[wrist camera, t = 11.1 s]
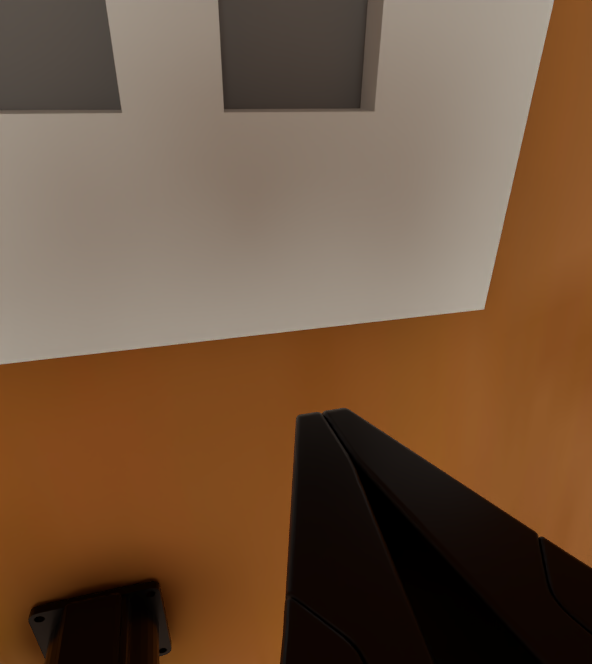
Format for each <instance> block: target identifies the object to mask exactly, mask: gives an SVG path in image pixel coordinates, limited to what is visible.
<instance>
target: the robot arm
mask: <svg viewBox="0 0 592 664" xmlns="http://www.w3.org/2000/svg"><path fill="white" fill-rule="evenodd" d="M29 624H30V626H31V628H32V630H33V633H34V635H35V637H36V639H37V642H38V644H39V646H40V649H41V651H42V653H43V655H44V658H45V664H159V656H163V655H166V654H168V653H169V652H170V651H171V639H170V634H169V629H168V624H167V619H166V614H165V609H164V604H163V599H162V593H161V588H160V585H159V583H157V582H154V581H151V582H146V583H141V584H136V585H132V586H127V587H123V588H118V589H114V590H109V591H105V592H100V593H96V594H91V595H87V596H82V597H78V598H73V599H69V600H64V601H60V602H55V603H50V604H46V605H41V606H37V607H35V608H33V609H32V610H31V612H30V615H29ZM280 664H592V568H591V567H589V566H588V565H586V564H585V563H583V562H581V561H580V560H578V559H577V558H575V557H573V556H572V555H570V554H569V553H567V552H566V551H564V550H563V549H561V548H560V547H558V546H557V545H555V544H553V543H552V542H550V541H549V540H547V539H546V538H544V537H539V538H538V534H537V533H536V532H535V531H533V530H532V529H530V528H529V527H527V526H526V525H524V524H523V523H521V522H520V521H518V520H517V519H515V518H513V517H512V516H510V515H509V514H507V513H506V512H504V511H503V510H501V509H500V508H498V507H497V506H495V505H494V504H492V503H491V502H489V501H488V500H486V499H484V498H483V497H481V496H480V495H478V494H477V493H475V492H474V491H472V490H471V489H469V488H468V487H466V486H465V485H463V484H462V483H460V482H459V481H457V480H456V479H454V478H452V477H451V476H449V475H448V474H446V473H445V472H443V471H442V470H440V469H439V468H437V467H436V466H434V465H433V464H431V463H430V462H428V461H427V460H425V459H423V458H422V457H420V456H419V455H417V454H416V453H414V452H413V451H411V450H410V449H408V448H407V447H405V446H404V445H402V444H401V443H399V442H398V441H396V440H395V439H393V438H391V437H390V436H388V435H387V434H385V433H384V432H382V431H381V430H379V429H378V428H376V427H375V426H373V425H372V424H370V423H369V422H367V421H366V420H364V419H362V418H361V417H359V416H358V415H356V414H355V413H353V412H352V411H350V410H349V409H346V408H340V409H334V410H327V411H324V412H323V413H322V414H321V413H319V412H314V413H308V414H301V415H298V416H297V418H296V429H295V446H294V463H293V480H292V496H291V513H290V530H289V547H288V564H287V581H286V601H285V609H284V625H283V638H282V649H281V659H280Z"/></svg>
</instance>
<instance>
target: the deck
mask: <svg viewBox="0 0 592 664" xmlns="http://www.w3.org/2000/svg"><path fill="white" fill-rule="evenodd" d="M553 2H554V0H0V364H8V363H16V362H25V361H34V360H43V359H52V358H60V357H69V356H78V355H87V354H96V353H104V352H113V351H122V350H131V349H139V348H148V347H157V346H166V345H175V344H183V343H192V342H201V341H210V340H219V339H227V338H236V337H245V336H254V335H263V334H271V333H280V332H289V331H298V330H306V329H315V328H324V327H333V326H342V325H350V324H359V323H368V322H377V321H386V320H394V319H403V318H412V317H421V316H429V315H438V314H447V313H456V312H465V311H473V310H482V309H484V307H485V302H486V298H487V294H488V289H489V285H490V280H491V276H492V272H493V267H494V263H495V258H496V254H497V250H498V245H499V241H500V236H501V232H502V227H503V223H504V219H505V214H506V210H507V205H508V201H509V197H510V192H511V188H512V183H513V179H514V174H515V170H516V166H517V161H518V157H519V152H520V148H521V144H522V139H523V135H524V130H525V126H526V122H527V117H528V113H529V108H530V104H531V99H532V95H533V91H534V86H535V82H536V77H537V73H538V69H539V64H540V60H541V55H542V51H543V46H544V42H545V38H546V33H547V29H548V24H549V20H550V16H551V11H552V7H553Z"/></svg>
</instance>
